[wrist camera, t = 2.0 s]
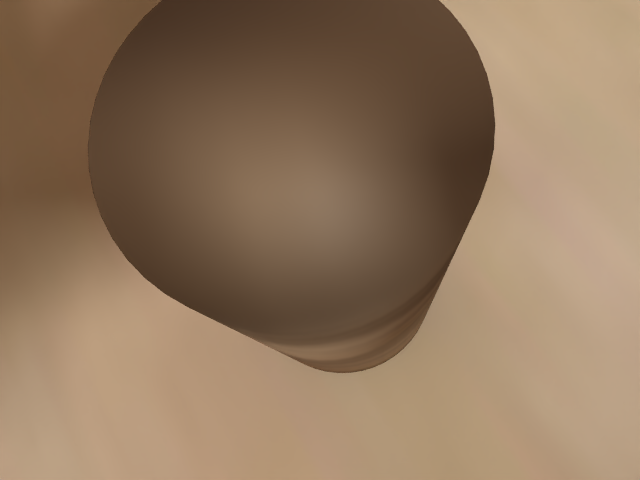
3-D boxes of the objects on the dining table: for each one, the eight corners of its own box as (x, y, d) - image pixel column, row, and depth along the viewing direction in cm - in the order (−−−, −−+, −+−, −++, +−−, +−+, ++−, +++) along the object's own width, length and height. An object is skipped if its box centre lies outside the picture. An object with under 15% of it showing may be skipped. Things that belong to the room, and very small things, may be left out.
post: (402, 397, 18) (429, 387, 7) (232, 341, 19) (23, 255, 8) (450, 227, 19) (538, -8, 8) (288, 182, 20) (173, -82, 9)
